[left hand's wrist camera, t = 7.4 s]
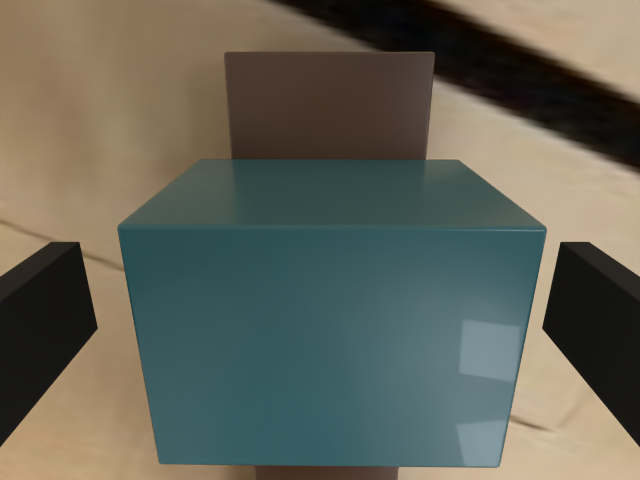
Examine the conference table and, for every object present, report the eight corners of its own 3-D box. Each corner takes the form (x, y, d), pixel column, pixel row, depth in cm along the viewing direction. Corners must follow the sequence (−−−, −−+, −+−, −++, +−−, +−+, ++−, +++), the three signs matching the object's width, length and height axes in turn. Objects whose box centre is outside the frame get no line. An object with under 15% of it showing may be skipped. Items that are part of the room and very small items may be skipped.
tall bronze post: (250, 53, 17) (223, 51, 13) (406, 53, 17) (435, 51, 13) (276, 544, 28) (266, 642, 23) (373, 546, 28) (383, 643, 23)
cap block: (199, 158, 14) (114, 225, 8) (459, 158, 14) (549, 227, 8) (215, 325, 16) (157, 466, 11) (440, 327, 16) (500, 469, 11)
